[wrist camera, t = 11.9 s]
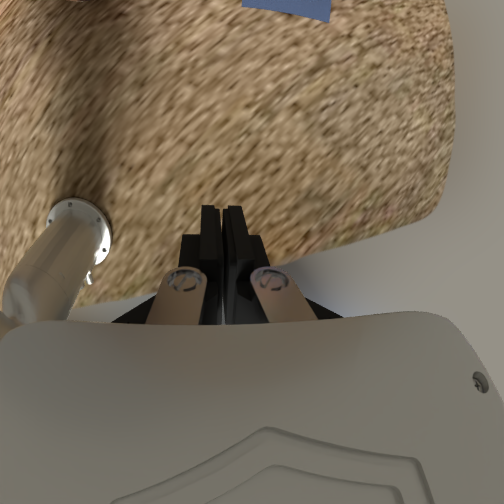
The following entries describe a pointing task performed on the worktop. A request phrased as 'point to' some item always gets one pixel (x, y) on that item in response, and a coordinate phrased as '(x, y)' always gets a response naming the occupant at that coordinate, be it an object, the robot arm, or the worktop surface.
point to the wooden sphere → (78, 0)
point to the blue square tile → (295, 7)
